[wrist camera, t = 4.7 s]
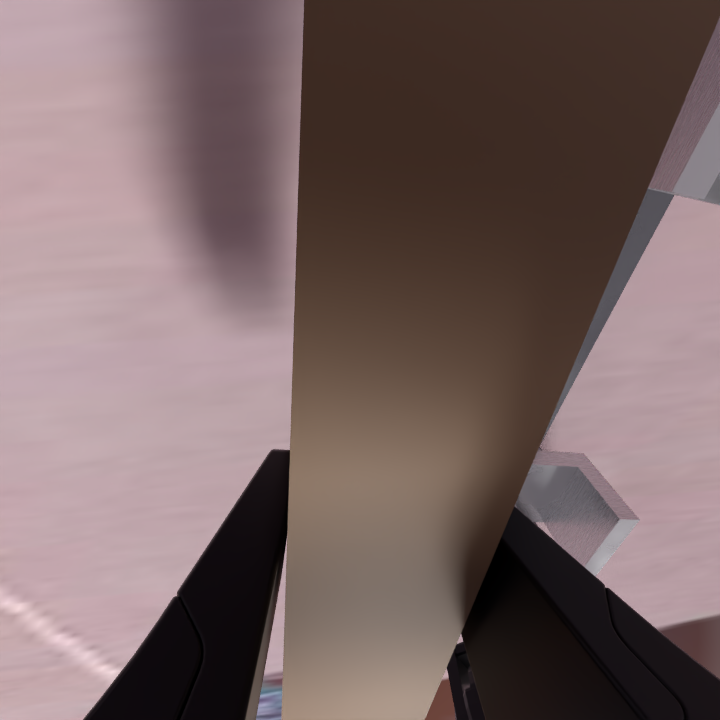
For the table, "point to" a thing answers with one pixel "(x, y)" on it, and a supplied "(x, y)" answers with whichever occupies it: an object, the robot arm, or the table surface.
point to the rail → (447, 300)
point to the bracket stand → (574, 470)
